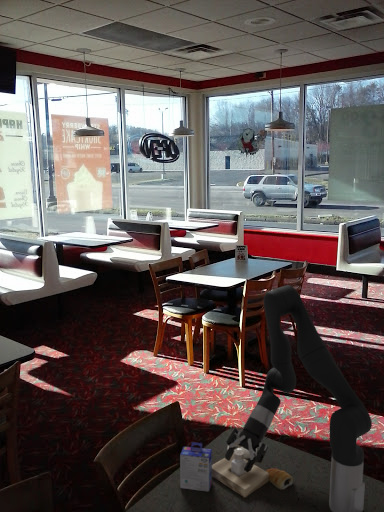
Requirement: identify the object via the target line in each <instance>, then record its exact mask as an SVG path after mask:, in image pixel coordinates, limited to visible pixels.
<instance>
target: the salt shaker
mask: <svg viewBox="0 0 384 512" xmlns="http://www.w3.org/2000/svg"><path fill="white" fill-rule="evenodd" d="M234 458H235V459H233V460H232V461H231V472H232V473H234V474H235V475H237V476H239V477H240V476H242V475H243V474H245V473H247V472H246V471H245V470H244V468H245V466H246V464H247V463H246V461H245V460H246V459H245V460H244V452H243V451H242V450H236V451H235V452H234Z"/></svg>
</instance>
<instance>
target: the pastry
mask: <svg viewBox="0 0 384 512" xmlns="http://www.w3.org/2000/svg"><path fill="white" fill-rule="evenodd" d="M265 471H266V472H268V473H269V482H270V483H271V484H272V485H273V486H274V487H275V488H277V489H278V490H285V489H286V488H288V487H289V486H292V485H293V483H294V478H293V476H291V474H289V473H288V472H286V471H285V470H281V469H279V468H274V467H271V468H268V469H266V470H265Z"/></svg>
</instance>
